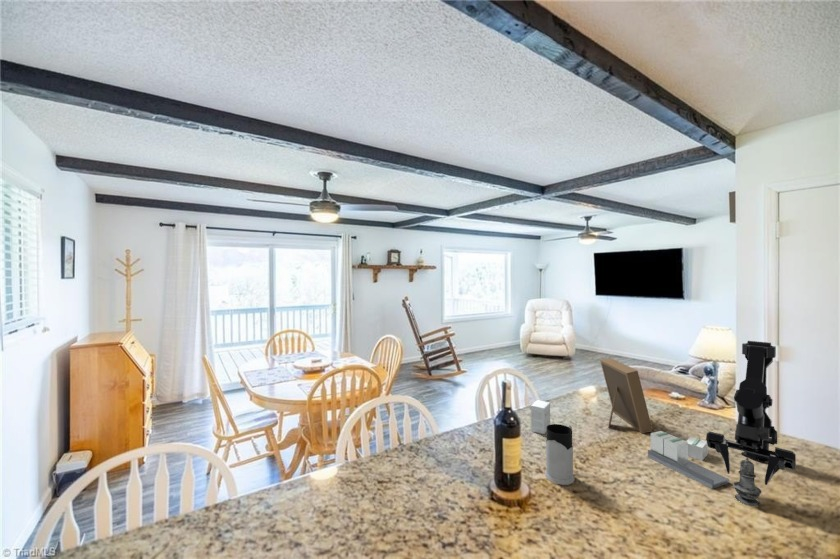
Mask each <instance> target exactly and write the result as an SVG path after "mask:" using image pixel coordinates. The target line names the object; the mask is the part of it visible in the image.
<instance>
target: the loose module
mask: <svg viewBox="0 0 840 559" xmlns="http://www.w3.org/2000/svg"><path fill="white" fill-rule="evenodd" d="M686 441H687V442H688V458H692V459H695V460H698V461H704V459H705V458H707V456H708V455H709V452H708V451H709V447H708V444H707V440H703V439H701V438H698V437H697V438H696V437H693V436H690V437H688V439H687V440H686Z"/></svg>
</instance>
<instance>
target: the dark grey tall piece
mask: <svg viewBox="0 0 840 559" xmlns="http://www.w3.org/2000/svg"><path fill="white" fill-rule="evenodd" d="M739 464H740V467H739V471H738V474H739V481H734V482H733V483H732V485H733V487H734V490H735V491H736V494H734V496H735V497H734V498H736V499H737V500H736V499H735V500H736V501H737V502H739V501H740V502H739V503H741V502H742V504H743V503H744V504H743V505H747V506H749V507H759V506H760V505H761V503H760V501H758V499H759V497H760V496H761V494H762V490H761V489H760V488H759V487H758V486H756V484H755V478H756V477H757V475H756V474H755V464H754V463H753V462H752V461H750V459H749V457H746V458H745V459H742V460H741V461H740V463H739Z"/></svg>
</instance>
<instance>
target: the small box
mask: <svg viewBox="0 0 840 559" xmlns="http://www.w3.org/2000/svg"><path fill="white" fill-rule="evenodd" d="M548 425H551V402H548V401H544V400H539V399H537V400H535V401H534V402H533V403H532V404H531V405H530V431H531V432H534V433H537V434H542V435H545V434H547V426H548Z"/></svg>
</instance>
